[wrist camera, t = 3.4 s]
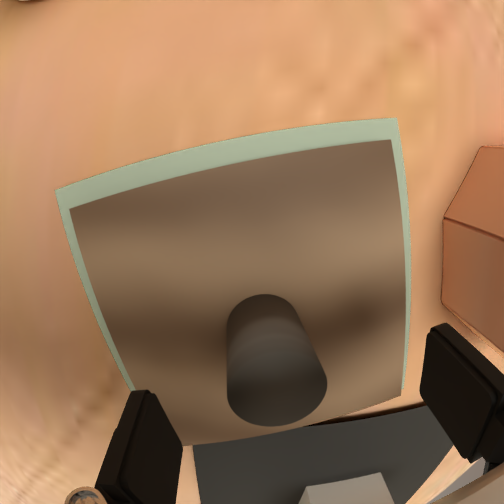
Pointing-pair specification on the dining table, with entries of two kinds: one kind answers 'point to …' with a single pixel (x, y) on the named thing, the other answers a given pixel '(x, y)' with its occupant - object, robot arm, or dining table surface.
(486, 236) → the terracotta bowl
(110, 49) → the dining table surface
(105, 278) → the walnut lid
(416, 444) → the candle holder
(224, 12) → the dining table surface
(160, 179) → the sage mat
